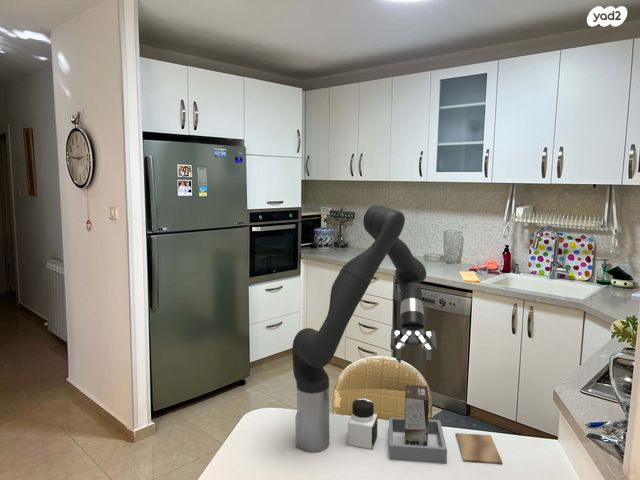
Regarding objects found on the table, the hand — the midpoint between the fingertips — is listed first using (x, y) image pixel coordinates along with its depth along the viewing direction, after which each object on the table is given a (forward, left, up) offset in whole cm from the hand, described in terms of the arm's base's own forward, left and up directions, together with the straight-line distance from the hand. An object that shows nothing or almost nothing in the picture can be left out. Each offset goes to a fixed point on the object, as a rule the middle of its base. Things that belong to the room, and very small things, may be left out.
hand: (413, 362), depth 139 cm
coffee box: (0, -13, -19) cm, 24 cm away
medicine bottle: (-15, -13, -19) cm, 28 cm away
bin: (0, -13, -19) cm, 23 cm away
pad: (+17, -13, -19) cm, 29 cm away
